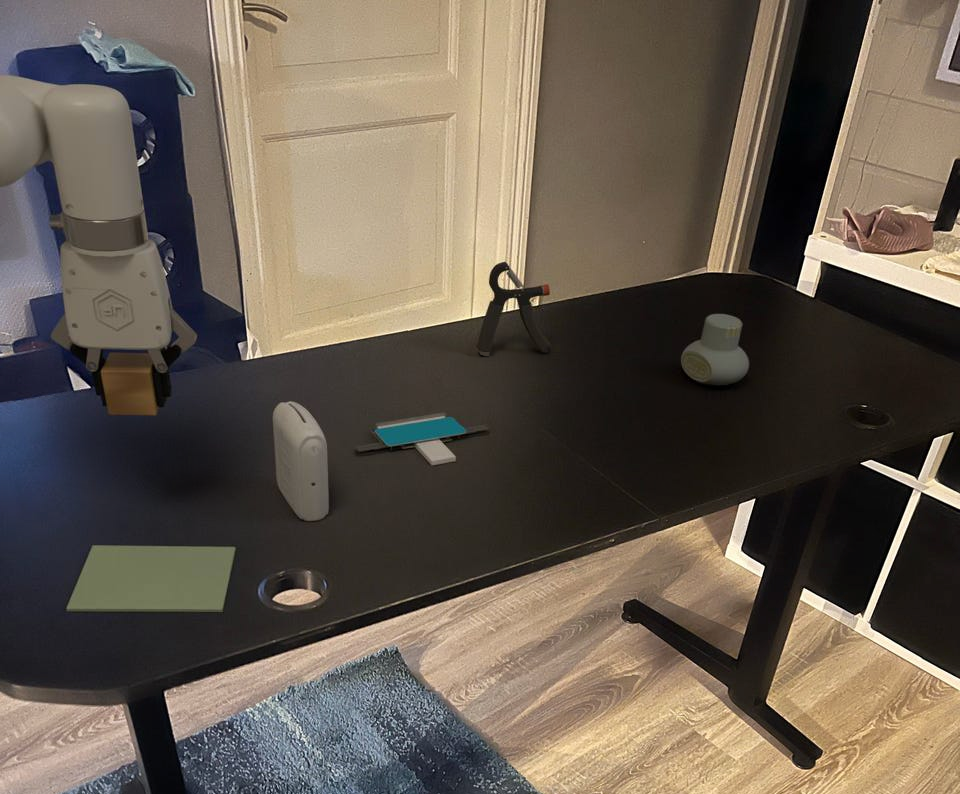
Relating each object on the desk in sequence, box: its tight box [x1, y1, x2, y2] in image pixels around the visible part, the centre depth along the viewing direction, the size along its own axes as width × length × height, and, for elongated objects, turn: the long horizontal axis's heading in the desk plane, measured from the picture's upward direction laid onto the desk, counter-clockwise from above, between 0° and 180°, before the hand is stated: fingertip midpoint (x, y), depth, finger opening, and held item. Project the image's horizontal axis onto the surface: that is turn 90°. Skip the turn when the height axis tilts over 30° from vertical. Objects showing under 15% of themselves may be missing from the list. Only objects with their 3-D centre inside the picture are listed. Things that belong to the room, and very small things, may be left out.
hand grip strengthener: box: [476, 261, 552, 353], centre depth 158 cm, size 2×13×15 cm, turn 103°
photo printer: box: [272, 400, 330, 522], centre depth 118 cm, size 10×4×12 cm, turn 28°
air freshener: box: [680, 313, 750, 386], centre depth 157 cm, size 11×8×10 cm
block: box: [101, 352, 160, 416], centre depth 106 cm, size 5×5×5 cm
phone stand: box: [354, 411, 490, 466], centre depth 135 cm, size 20×12×2 cm, turn 117°
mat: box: [65, 544, 237, 613], centre depth 107 cm, size 16×12×1 cm
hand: (135, 400), depth 107 cm, fingers closed on block, 5 cm apart
